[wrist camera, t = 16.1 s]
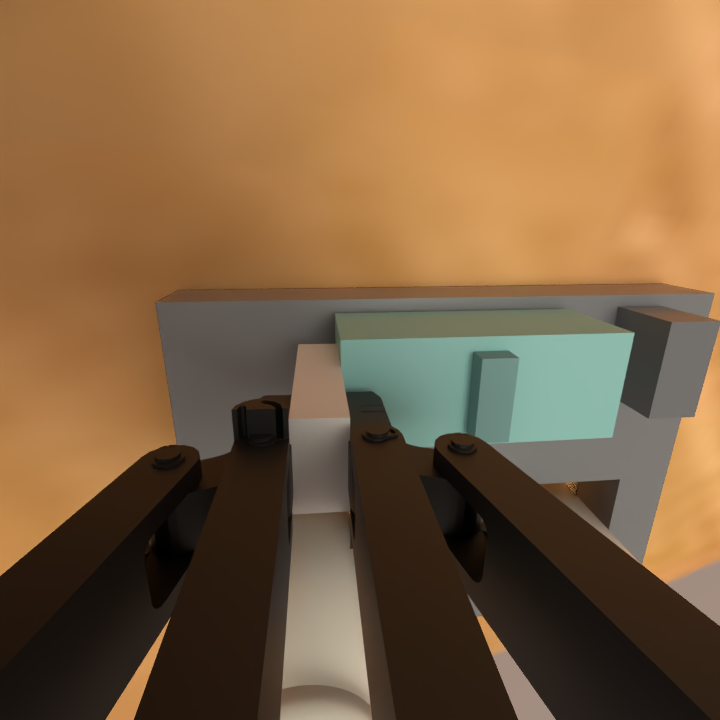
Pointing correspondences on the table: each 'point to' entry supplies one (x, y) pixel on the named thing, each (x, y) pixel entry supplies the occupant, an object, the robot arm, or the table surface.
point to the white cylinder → (323, 625)
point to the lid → (488, 372)
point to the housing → (318, 307)
